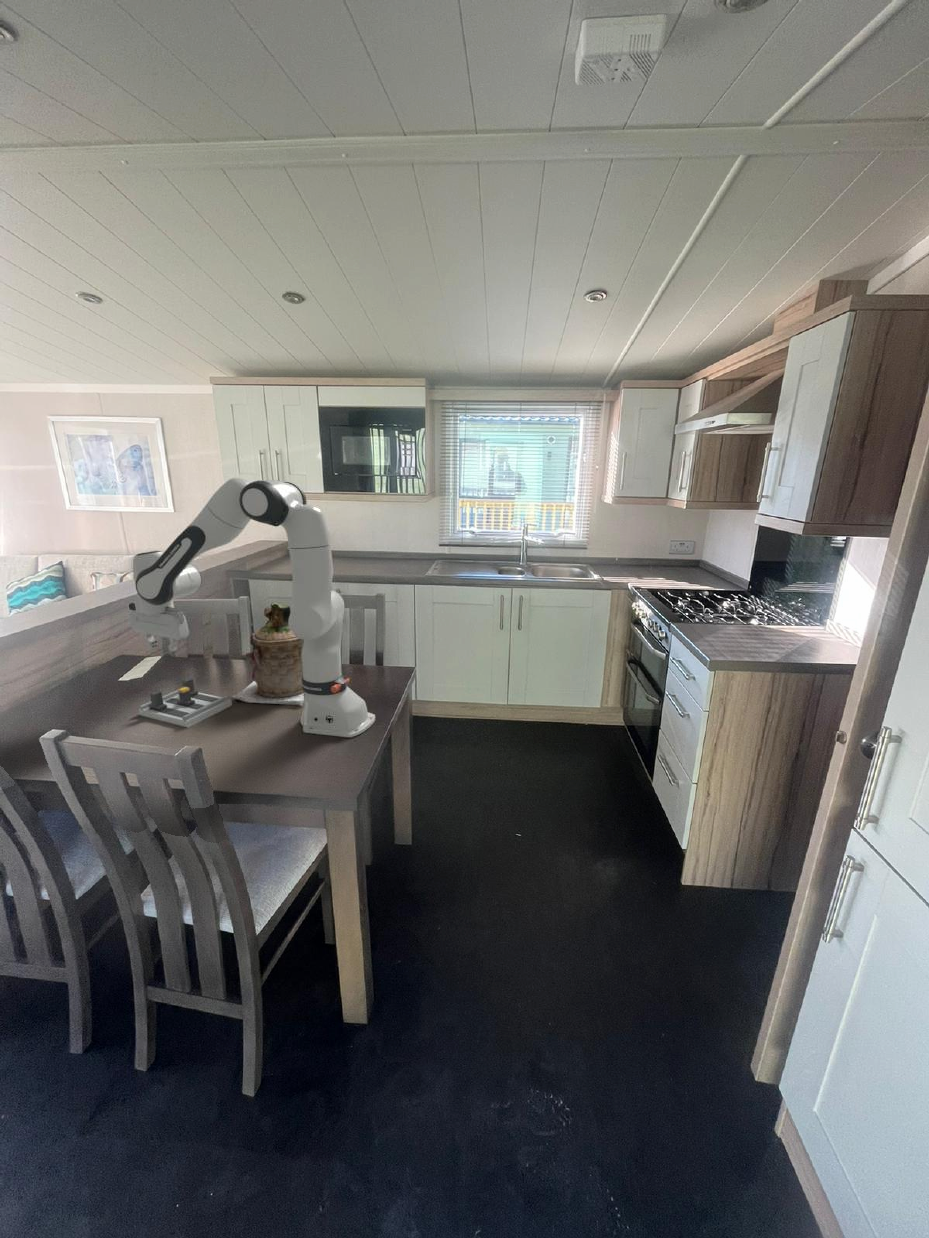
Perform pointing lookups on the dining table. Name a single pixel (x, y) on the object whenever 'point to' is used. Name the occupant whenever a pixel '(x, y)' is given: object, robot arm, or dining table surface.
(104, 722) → the dining table surface
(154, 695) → the breaker left
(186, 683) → the breaker right
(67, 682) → the dining table surface
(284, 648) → the cookie jar
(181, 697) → the breaker middle
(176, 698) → the panel
